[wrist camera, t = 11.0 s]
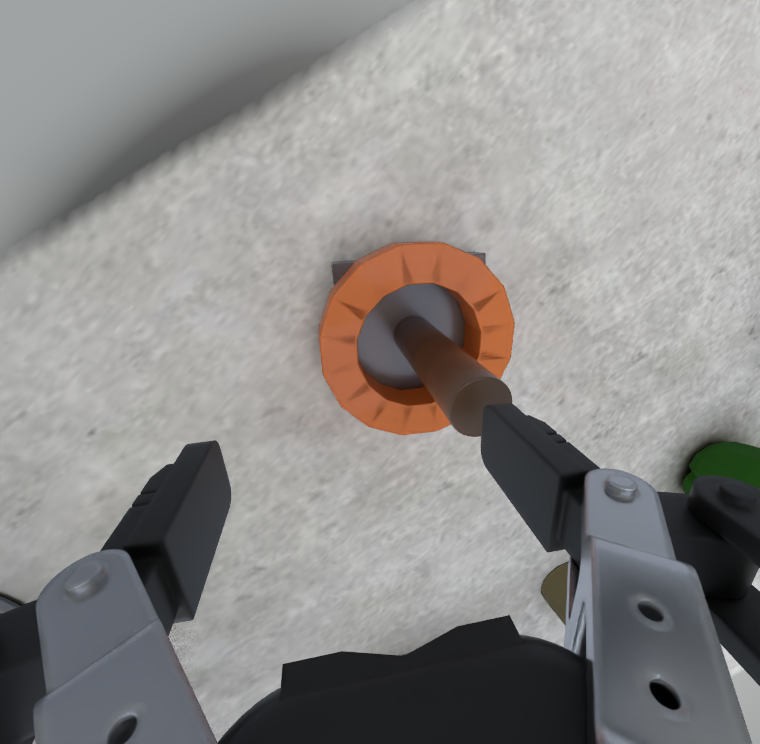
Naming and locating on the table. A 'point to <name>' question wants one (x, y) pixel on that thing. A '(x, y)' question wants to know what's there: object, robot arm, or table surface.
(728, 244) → the table surface
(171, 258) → the table surface
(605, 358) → the table surface
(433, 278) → the orange ridged ring
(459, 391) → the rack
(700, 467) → the bell pepper
